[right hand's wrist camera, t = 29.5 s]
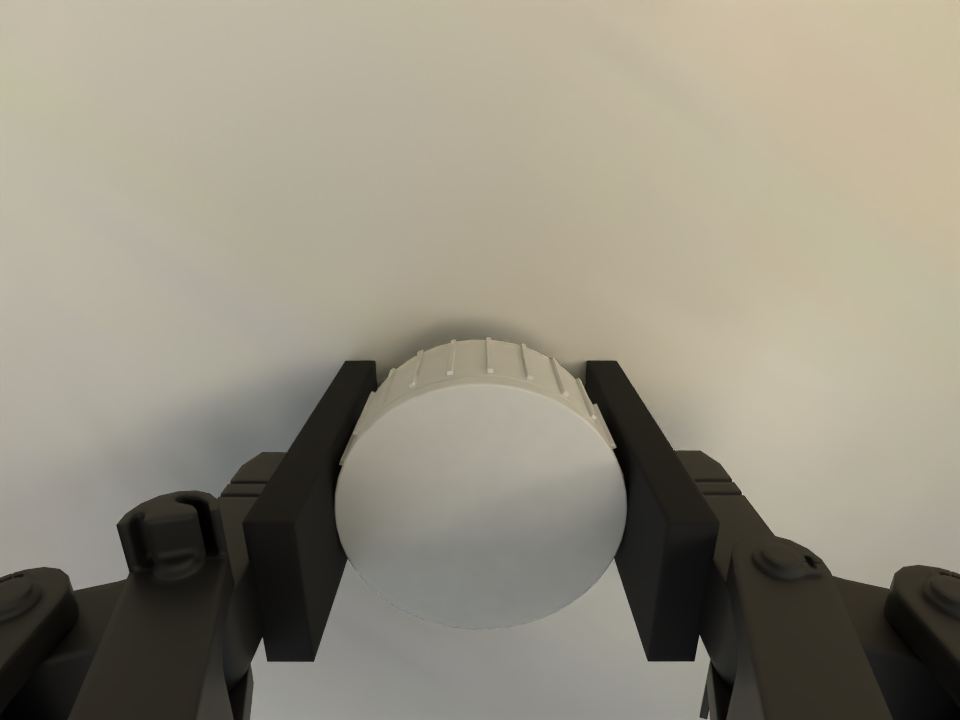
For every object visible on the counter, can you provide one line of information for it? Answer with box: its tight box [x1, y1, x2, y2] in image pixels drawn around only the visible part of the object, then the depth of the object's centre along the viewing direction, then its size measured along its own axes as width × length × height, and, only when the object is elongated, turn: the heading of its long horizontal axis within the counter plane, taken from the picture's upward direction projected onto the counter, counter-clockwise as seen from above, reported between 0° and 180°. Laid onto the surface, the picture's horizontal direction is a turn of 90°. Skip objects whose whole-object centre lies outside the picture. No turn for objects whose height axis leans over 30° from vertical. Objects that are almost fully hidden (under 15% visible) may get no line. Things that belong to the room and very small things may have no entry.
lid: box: [334, 337, 628, 629], centre depth 11 cm, size 6×6×2 cm
